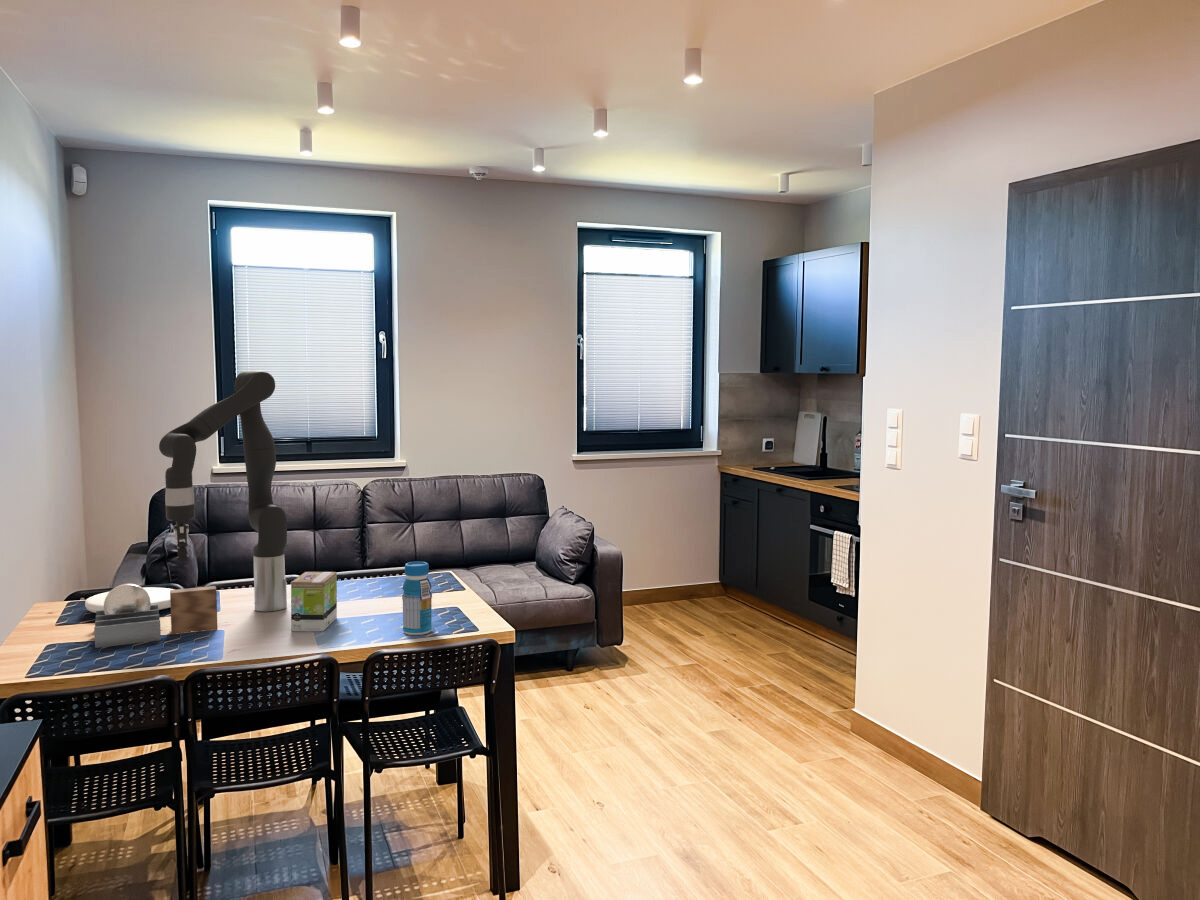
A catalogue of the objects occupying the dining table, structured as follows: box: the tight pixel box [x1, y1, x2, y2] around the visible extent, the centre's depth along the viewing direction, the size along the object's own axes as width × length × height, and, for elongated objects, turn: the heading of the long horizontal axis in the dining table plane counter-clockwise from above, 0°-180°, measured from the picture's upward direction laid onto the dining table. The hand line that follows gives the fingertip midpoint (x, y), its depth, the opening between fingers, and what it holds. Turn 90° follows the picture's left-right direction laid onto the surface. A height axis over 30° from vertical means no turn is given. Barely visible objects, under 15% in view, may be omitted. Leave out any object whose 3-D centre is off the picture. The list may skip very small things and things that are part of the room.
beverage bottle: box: [401, 561, 433, 636], centre depth 258 cm, size 8×8×20 cm
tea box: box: [290, 571, 338, 632], centre depth 265 cm, size 15×10×15 cm, turn 3°
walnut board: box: [170, 585, 218, 635], centre depth 259 cm, size 12×4×12 cm, turn 118°
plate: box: [84, 586, 175, 614], centre depth 283 cm, size 28×6×27 cm
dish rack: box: [93, 583, 162, 649], centre depth 254 cm, size 16×20×13 cm
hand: (182, 558), depth 259 cm, fingers open, 8 cm apart
